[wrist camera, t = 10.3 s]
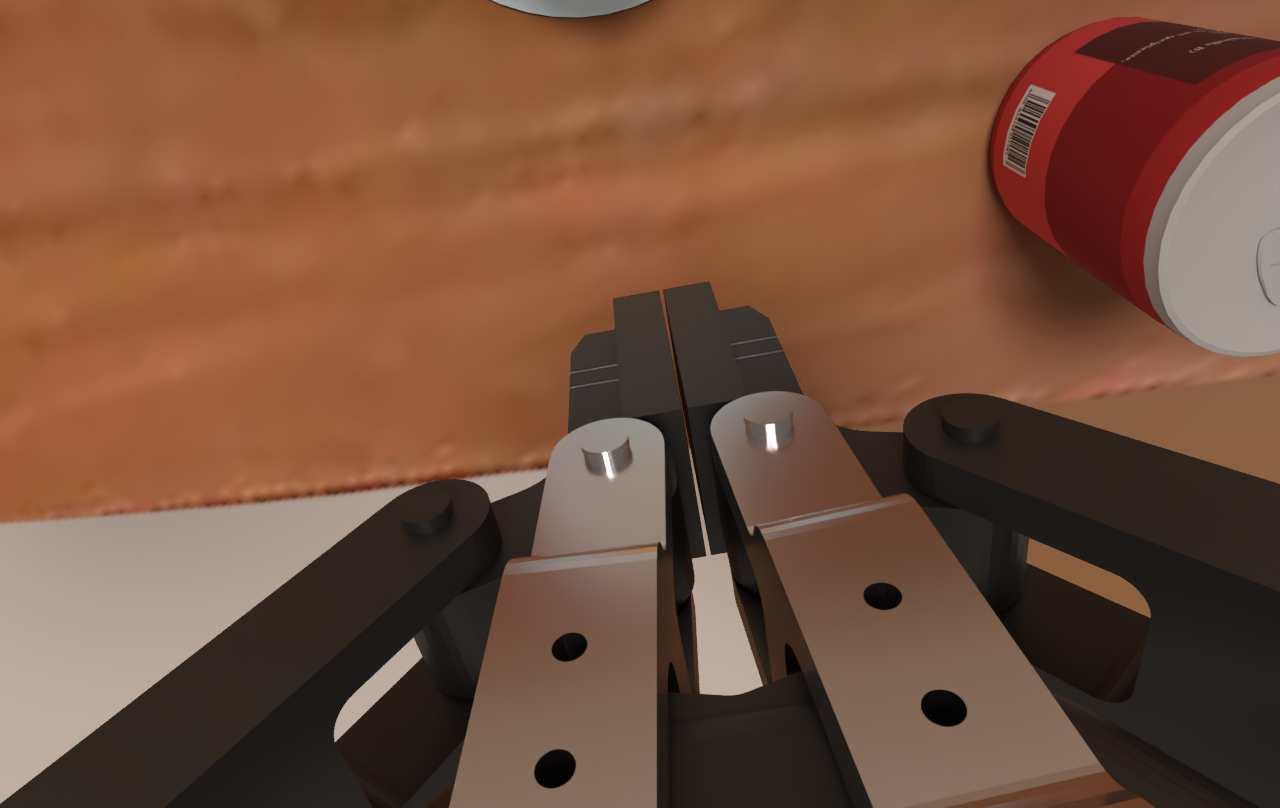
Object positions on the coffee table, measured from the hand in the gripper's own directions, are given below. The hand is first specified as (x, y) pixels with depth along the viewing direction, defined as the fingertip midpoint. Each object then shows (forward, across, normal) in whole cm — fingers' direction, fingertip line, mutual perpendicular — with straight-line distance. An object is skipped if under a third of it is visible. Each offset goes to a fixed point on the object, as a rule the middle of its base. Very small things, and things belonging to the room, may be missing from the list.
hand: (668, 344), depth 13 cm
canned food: (+19, -17, +4) cm, 26 cm away
